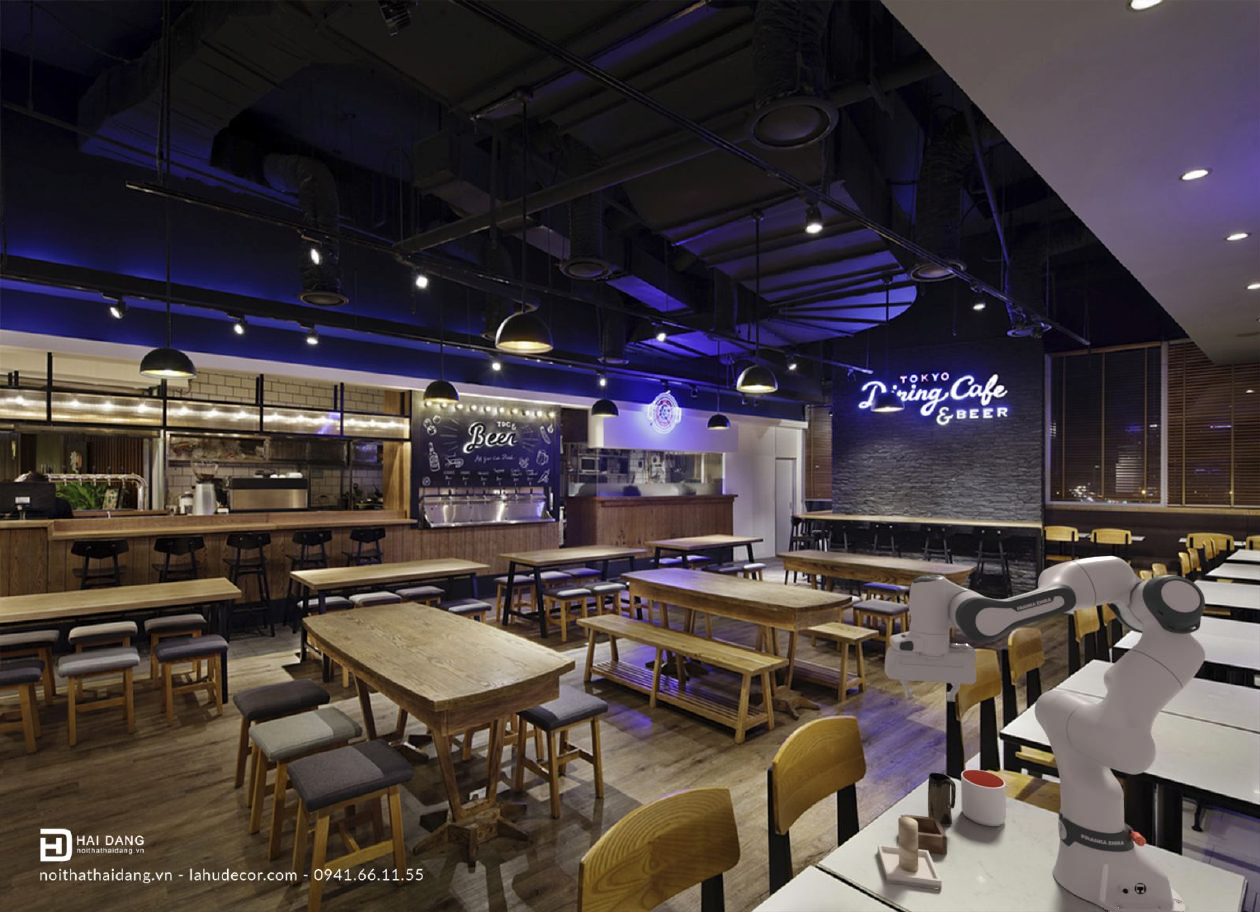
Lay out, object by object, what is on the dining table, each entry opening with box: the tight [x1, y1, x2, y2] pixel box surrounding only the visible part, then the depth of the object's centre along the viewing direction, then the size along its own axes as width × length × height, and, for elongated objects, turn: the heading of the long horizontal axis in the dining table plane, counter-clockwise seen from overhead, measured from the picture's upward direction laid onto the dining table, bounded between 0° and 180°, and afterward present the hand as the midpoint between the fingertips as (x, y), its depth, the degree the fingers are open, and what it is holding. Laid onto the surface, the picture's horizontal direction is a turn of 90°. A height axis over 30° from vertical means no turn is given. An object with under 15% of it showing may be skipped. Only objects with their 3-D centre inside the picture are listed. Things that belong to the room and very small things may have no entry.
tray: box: [877, 844, 942, 890], centre depth 140 cm, size 11×11×2 cm
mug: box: [927, 772, 957, 828], centre depth 158 cm, size 8×6×12 cm
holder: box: [900, 814, 948, 856], centre depth 150 cm, size 8×8×4 cm
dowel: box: [897, 816, 918, 872], centre depth 140 cm, size 4×4×10 cm
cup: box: [960, 769, 1007, 827], centre depth 161 cm, size 10×10×10 cm
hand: (929, 699), depth 151 cm, fingers open, 8 cm apart
